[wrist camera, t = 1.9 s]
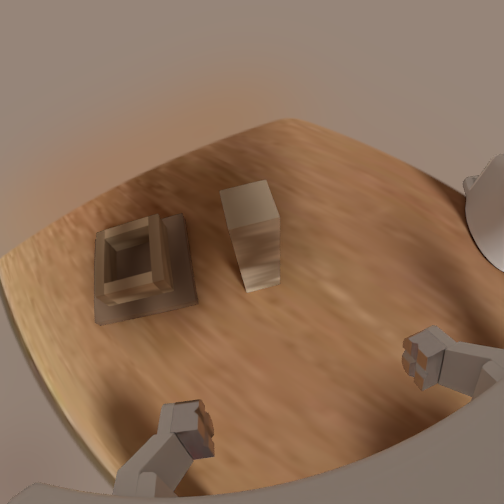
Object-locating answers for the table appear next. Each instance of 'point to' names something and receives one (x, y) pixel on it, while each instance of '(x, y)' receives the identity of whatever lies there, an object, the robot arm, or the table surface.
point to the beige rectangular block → (254, 233)
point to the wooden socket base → (142, 269)
